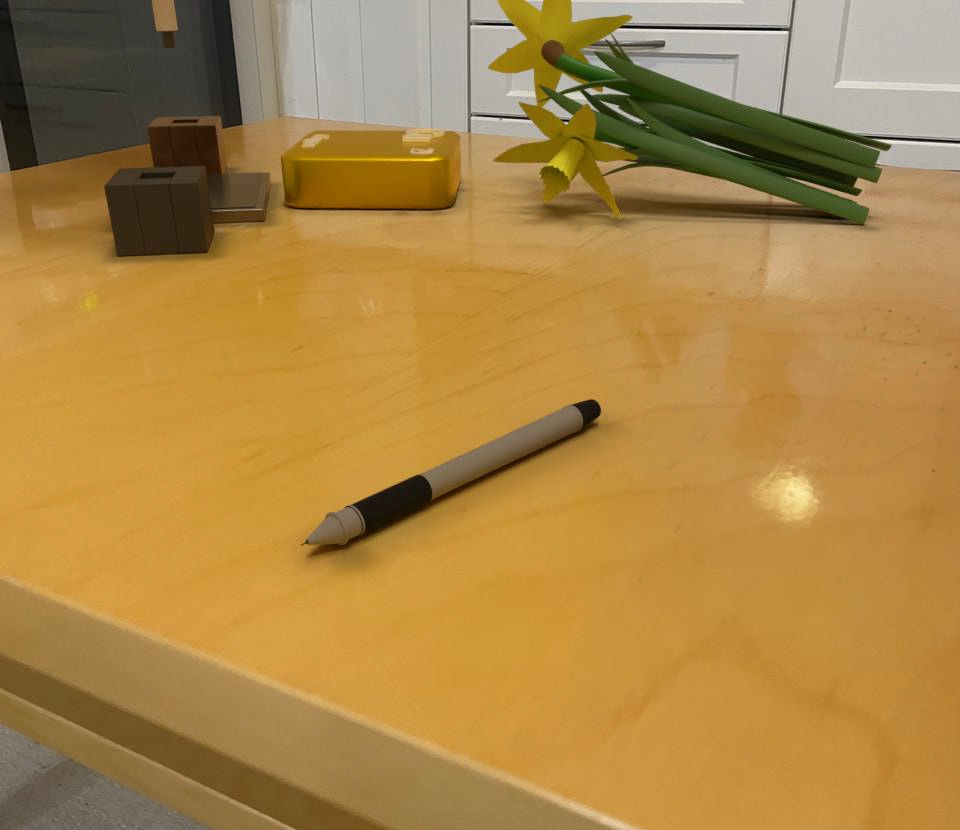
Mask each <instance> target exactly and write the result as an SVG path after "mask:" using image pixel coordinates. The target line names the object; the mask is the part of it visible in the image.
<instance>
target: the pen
mask: <svg viewBox="0 0 960 830" xmlns="http://www.w3.org/2000/svg"><path fill="white" fill-rule="evenodd" d="M601 414H602V408H601V404H600V403H599V402H598V401H597V400H596V399H592V398H591V399H590V398H589V399H586V400H581V401H579V402H574V403H572V404H566V405H565V406H563V407H562V408H560V409H558V410H556V411H553V412H551V413H549V414H547V415H544V416H542V417H540V418H538V419H536V420H533V421H531V422H530V423H528V424H525V425H523V426H521V427H519V428H517V429H513V430H512V431H510V432H508V433H506V434H503V435H501V436H500V437H497V438H495V439H493V440H490V441H489V442H486V443H484V444H482V445H480V446H478V447H475V448H473V449H471V450H468V451H466V452H464V453H463V454H460V455H458V456H455V457H454V458H451V459H450V460H447V461H445V462H443V463H441V464H438V465H436V466H434V467H433V468H430V469H428V470H426V471H424V472H421V473H419V474H415V475H412V476H411V477H409V478H407V479H405V480H402V481H400V482H398V483H395V484H393V485H391V486H388V487H386V488H385V489H381V490H380V491H377V492H376V493H373V494H371V495H369V496H366V497H364V498H363V499H360V500H358V501H356V502H353V503H351V504H348V505H345V506H344V507H343V508H342V509H340V510H338V511H329V512H327V513H326V514H325V516H324V519H323V520H322V522H320V524H319V525H318V526H316V528H315V529H314V530H313V531H312V532H311V533H310V534H309V535H308V536H307V537H306V539H305V542H303V543H301V544H300V546H304V545H308V546H318V545H334V544H336V545H338V546H344V545H346V544H347V543H348V541H349V540H351V539H353V538H355V537H361V536H362V535H363V534H365V533H367V532H369V531H371V530H374V529H375V528H377V527H380V526H383V524H386V523H388V522H390V521H392V520H394V519H397V518H398V517H400V516H402V515H404V514H407V513H409V512H411V511H413V510H415V509H417V508H419V507H421V506H423V505H425V504H427V503H429V502H431V501H432V500H434V499H436V498H438V497H440V496H442V495H445V494H447V493H449V492H451V491H453V490H455V489H457V488H459V487H462V486H464V485H466V484H468V483H470V482H473V481H475V480H477V479H479V478H480V477H483V476H485V475H487V474H489V473H491V472H493V471H497V469H500V468H501V467H504V466H506V465H508V464H511V463H512V462H514V461H516V460H519V459H521V458H523V457H526V456H527V455H530V454H531V453H534V452H536V451H538V450H540V449H543V448H545V447H546V446H549V445H551V444H553V443H556V442H557V441H559V440H561V439H564V438H565V437H567V436H569V435H572V434H575V433H579V432H580V431H581V430H582V429H584V428H585V427H586V426H588V425H590V424H591V423H592V422H594V421H595V420H597V419H598V418H599V417H600V416H601Z"/></svg>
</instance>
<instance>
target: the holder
mask: <svg viewBox="0 0 960 830" xmlns="http://www.w3.org/2000/svg"><path fill="white" fill-rule="evenodd" d="M103 189H104V193H105V199H106V204H107V210H108V214H109V219H110V225H111V230H112V235H113V240H114V245H115V251H116V255H117V257H127V256H129V257H131V256H152V255H154V256H155V255H178V254H197V253H200V254H201V253H208V251H209V248H210V245H211V243H212V240H213V237H214V234H215V231H216V229H215V223H213V215H212V208H211V201H210V194H209V187H208V179H207V172H206V167H205V166H188V167H154V166H153V167H126V168H125V167H124V168H123V167H122V168H121V167H120V168H118V169H117V171H115V173H114V174H113V175H112V176H111V177H110V178H109V179H108V180H107V181H106V183H105V184H104V185H103Z"/></svg>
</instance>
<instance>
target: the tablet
mask: <svg viewBox="0 0 960 830" xmlns="http://www.w3.org/2000/svg"><path fill="white" fill-rule="evenodd" d="M207 179H208V187H209V194H210V201H211V208H212V215H213V223H214V224H219V223H221V224H223V223H245V222H248V223H249V222H250V223H251V222H265V220H266V215H267V209H268V208H267V207H268V202H269V197H270V195H269V194H270V189H271V184H272V181H271V173H270V172H269V171H265V172H264V171H262V172H230V173H224V174H207Z"/></svg>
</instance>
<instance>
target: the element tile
mask: <svg viewBox="0 0 960 830" xmlns="http://www.w3.org/2000/svg"><path fill="white" fill-rule="evenodd" d="M280 164H281V174H282V184H283V195H284V202H285V204H286V205H287V206H289V207H291V208H296V209H324V210H325V209H327V210H328V209H329V210H330V209H332V210H333V209H334V210H335V209H336V210H337V209H338V210H339V209H341V210H342V209H343V210H351V209H352V210H441V209H445V208H449V207H451V206H453V205H454V203H455V201H456V197H457V193H458V189H459V185H460V182H461V179H462V137H461V136H460V134H459V133H457V131H454V130H444V129H441V128H429V127H428V128H427V127H423V128H419V127H418V128H410V129H406V130H351V129H350V130H349V129H348V130H346V129H345V130H344V129H343V130H342V129H338V130H333V129H332V130H330V129H326V130H325V129H324V130H323V129H321V130H320V129H319V130H314V131H312V132H310V133H307V134H305V135H304V136H303V137H302V138H301V139H300V140H298V141H297V142H296V143H295V144H294V145H292V146H291V147H289V148H288V150H286V151H285V152H284V153H282V154H281V155H280Z"/></svg>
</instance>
